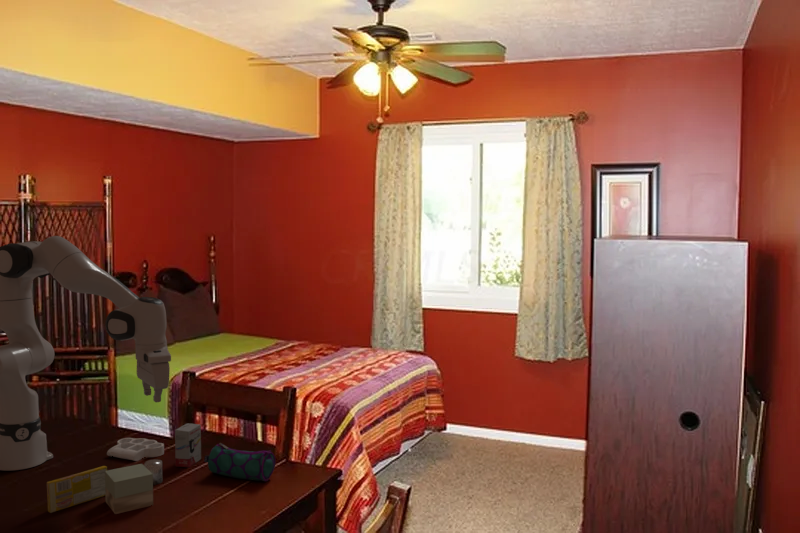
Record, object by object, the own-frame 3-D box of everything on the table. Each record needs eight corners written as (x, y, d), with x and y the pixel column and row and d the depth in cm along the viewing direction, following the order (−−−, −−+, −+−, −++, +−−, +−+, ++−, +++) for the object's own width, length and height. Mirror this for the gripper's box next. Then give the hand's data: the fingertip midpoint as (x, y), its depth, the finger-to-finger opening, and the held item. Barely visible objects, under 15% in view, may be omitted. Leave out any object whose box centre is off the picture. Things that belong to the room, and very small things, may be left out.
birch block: (105, 502, 191) (105, 487, 191) (142, 494, 197) (142, 479, 197) (115, 515, 183) (114, 498, 183) (153, 506, 189) (152, 490, 189)
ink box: (188, 468, 218) (188, 431, 217) (174, 466, 219) (174, 430, 218) (201, 458, 226) (201, 423, 225) (188, 457, 227) (187, 422, 226)
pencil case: (203, 477, 210) (203, 446, 210) (221, 467, 219) (220, 437, 218) (262, 487, 203) (262, 455, 202) (278, 476, 211) (278, 446, 211)
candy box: (105, 493, 198) (104, 464, 197) (108, 495, 196) (108, 466, 196) (46, 511, 185) (46, 481, 184) (50, 513, 184) (49, 483, 183)
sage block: (105, 486, 191) (104, 471, 191) (142, 478, 197) (141, 463, 197) (114, 498, 183) (114, 482, 183) (153, 490, 189) (152, 474, 189)
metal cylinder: (142, 481, 207) (142, 461, 206) (159, 477, 209) (159, 458, 209) (147, 486, 203) (147, 466, 202) (164, 482, 205) (164, 463, 205)
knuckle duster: (99, 457, 228) (132, 443, 241) (141, 465, 221) (173, 451, 234) (99, 447, 228) (132, 434, 241) (141, 454, 221) (173, 441, 234)
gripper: (130, 348, 210) (131, 392, 211) (150, 359, 193) (151, 407, 194) (151, 345, 214) (152, 389, 215) (173, 356, 197) (174, 404, 198)
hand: (152, 398), depth 204 cm, fingers open, 8 cm apart
